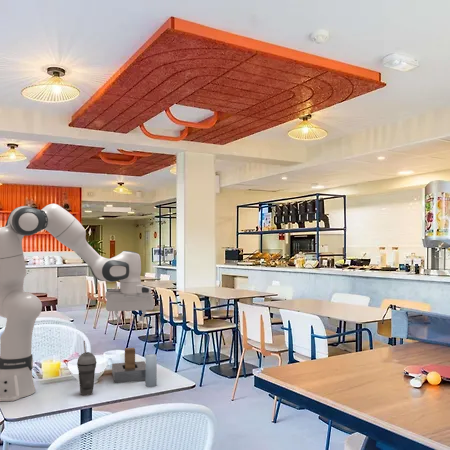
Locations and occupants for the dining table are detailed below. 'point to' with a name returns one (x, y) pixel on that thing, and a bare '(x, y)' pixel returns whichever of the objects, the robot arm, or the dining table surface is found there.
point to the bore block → (129, 372)
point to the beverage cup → (86, 372)
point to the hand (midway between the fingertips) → (130, 321)
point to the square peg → (129, 358)
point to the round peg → (151, 370)
